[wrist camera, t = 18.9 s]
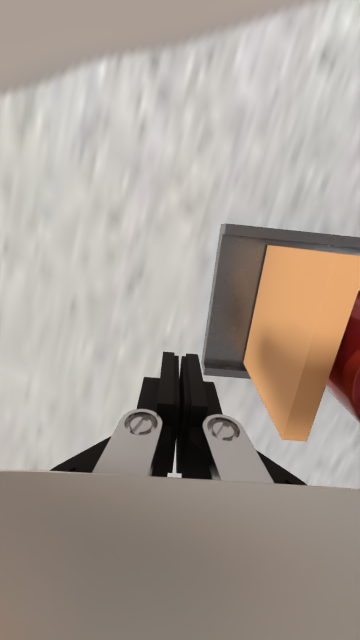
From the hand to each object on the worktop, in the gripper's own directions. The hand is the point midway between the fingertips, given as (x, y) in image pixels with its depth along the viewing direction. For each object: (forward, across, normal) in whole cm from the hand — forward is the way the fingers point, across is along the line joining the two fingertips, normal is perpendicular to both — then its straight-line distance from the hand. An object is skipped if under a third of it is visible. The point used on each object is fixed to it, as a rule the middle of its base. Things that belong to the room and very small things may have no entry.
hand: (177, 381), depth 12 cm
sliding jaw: (+12, -8, -1) cm, 14 cm away
